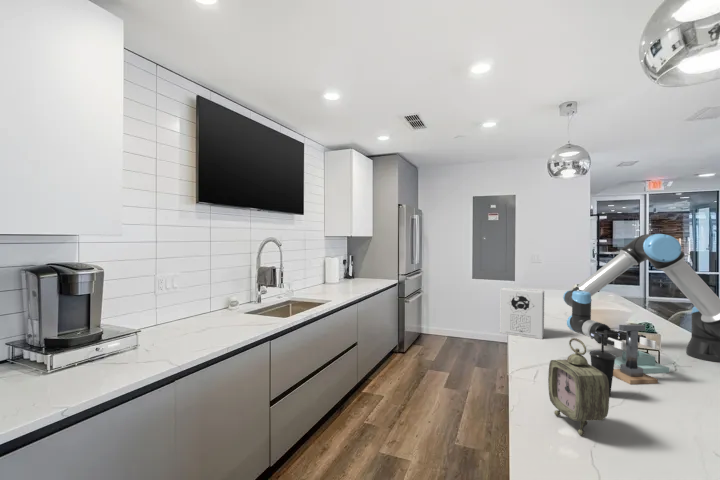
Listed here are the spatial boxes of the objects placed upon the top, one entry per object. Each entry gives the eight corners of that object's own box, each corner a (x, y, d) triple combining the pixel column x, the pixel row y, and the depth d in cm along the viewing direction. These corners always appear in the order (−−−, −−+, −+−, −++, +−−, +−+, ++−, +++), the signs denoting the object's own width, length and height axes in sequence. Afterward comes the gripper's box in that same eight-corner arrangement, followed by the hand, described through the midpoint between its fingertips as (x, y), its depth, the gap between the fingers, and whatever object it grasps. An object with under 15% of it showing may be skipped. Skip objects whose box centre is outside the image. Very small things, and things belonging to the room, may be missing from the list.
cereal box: (543, 335, 198) (544, 290, 197) (542, 339, 191) (543, 292, 191) (502, 330, 209) (502, 287, 209) (499, 333, 203) (500, 288, 202)
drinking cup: (620, 399, 121) (620, 340, 120) (594, 397, 122) (595, 338, 122) (609, 390, 128) (609, 334, 128) (585, 388, 130) (586, 332, 129)
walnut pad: (632, 372, 145) (632, 368, 145) (657, 383, 134) (657, 379, 134) (607, 373, 144) (607, 369, 144) (630, 384, 133) (630, 380, 133)
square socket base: (639, 360, 159) (639, 348, 159) (669, 372, 145) (669, 359, 145) (609, 361, 157) (609, 348, 157) (637, 373, 144) (637, 359, 143)
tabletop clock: (547, 413, 111) (548, 332, 111) (575, 412, 112) (576, 332, 111) (579, 439, 97) (580, 347, 96) (611, 438, 97) (612, 346, 97)
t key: (636, 371, 142) (637, 323, 142) (648, 376, 137) (648, 326, 137) (615, 372, 141) (616, 323, 141) (626, 377, 136) (626, 326, 136)
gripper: (623, 338, 158) (669, 354, 137) (569, 340, 156) (608, 356, 135) (623, 321, 158) (669, 335, 137) (570, 322, 156) (608, 336, 135)
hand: (639, 345), depth 136 cm, fingers open, 13 cm apart
